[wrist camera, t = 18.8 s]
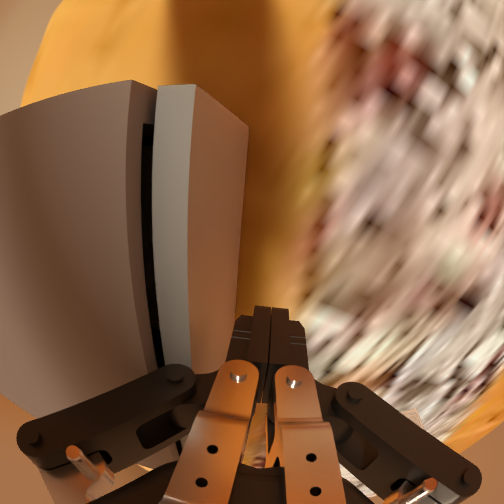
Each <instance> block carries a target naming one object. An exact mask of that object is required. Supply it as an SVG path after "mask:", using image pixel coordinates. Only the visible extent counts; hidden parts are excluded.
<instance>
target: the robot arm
mask: <svg viewBox="0 0 504 504" xmlns="http://www.w3.org/2000/svg"><path fill="white" fill-rule="evenodd" d="M262 392H263V396H262ZM261 397H262V403H268V406H267V414H266V419H265V427H266V464H265V468H262V469H259V468H254V467H251V466H248V465H245V464H242V461H243V456H244V452H245V447H246V443H247V439H248V434H249V430H250V425H251V421H252V417H253V415H254V413H255V408H256V403H261ZM188 434H189V435H188ZM186 435H188V438H187V440H186V443H185V445H184V448H183V450H182V453H181V455H180V458H179V460H178V461H173V462H169V463H166V464H163V465H161V466H159V467H157V468H155V469H153V470H152V471H150V472H148V473H146V474H145V475H143V476H141V477H139V478H137V479H136V480H134V481H132V482H130V483H128V484H126V485H124V486H122V487H120V488H118V489H116V490H114V491H112V492H110V493H108V494H106V495H104V496H102V494H104V493H105V492H106V491H108V490H109V489H110V488H111V487H112V486H113V484H114V481H115V476H114V473H116V472H119V471H121V470H123V469H125V468H127V467H129V466H131V465H133V464H135V463H137V462H139V461H141V460H143V459H145V458H147V457H149V456H151V455H153V454H155V453H157V452H158V451H160V450H162V449H164V448H166V447H168V446H169V445H171V444H173V443H175V442H176V441H178V440H180V439H181V438H183V437H185V436H186ZM17 444H18V446H19V448H20V450H21V451H22V452H23V453H24V454H25V455H26V456H27V457H28V458H29V459H30V460H31V461H32V462H33V463H34V464H35V465H36V466H37V467H38V469H39V471H40V473H41V476H42V478H43V480H44V482H45V484H46V487H47V489H48V491H49V493H50V495H51V497H52V499H53V500H54V503H55V504H374V503H373V502H372V501H371V500H370V499H369V498H367V497H366V496H365V495H364V494H363V493H362V492H361V491H360V490H359V489H358V488H356V487H355V486H354V485H353V484H352V483H351V482H349V481H348V480H346V479H344V478H343V477H341V472H340V467H339V463H340V464H341V465H342V466H344V467H345V468H346V469H347V470H348V471H349V472H350V473H352V474H353V475H354V476H355V477H356V478H357V479H359V480H360V481H361V482H362V483H363V484H364V485H366V486H367V487H368V488H369V489H370V490H372V491H373V492H374V493H375V494H377V495H378V496H379V497H380V498H382V499H383V500H384V502H383V504H459V503H461V502H462V501H464V500H465V499H467V498H469V497H470V496H472V495H473V494H475V493H476V492H477V491H478V489H479V488H480V485H481V482H482V475H481V472H480V470H479V468H478V467H477V466H475V465H474V464H473V463H471V462H470V461H468V460H467V459H465V458H464V457H462V456H461V455H459V454H458V453H456V452H455V451H453V450H452V449H450V448H449V447H448V446H446V445H445V444H443V443H442V442H440V441H439V440H438V439H436V438H435V437H433V436H432V435H431V434H429V433H428V432H426V431H425V430H424V429H422V428H421V427H419V426H418V425H417V424H415V423H414V422H413V421H411V420H410V419H408V418H407V417H406V416H404V415H403V414H402V413H400V412H399V411H398V410H396V409H395V408H394V407H392V406H391V405H390V404H388V403H387V402H386V401H384V400H383V399H382V398H380V397H379V396H378V395H376V394H375V393H374V392H372V391H371V390H370V389H368V388H367V387H366V386H364V385H362V384H360V383H357V382H346V383H343V384H341V385H340V386H339V387H338V388H333V387H330V386H326V385H323V384H321V383H319V382H318V381H316V380H315V379H314V377H313V375H312V374H311V372H310V371H309V367H308V357H307V347H306V338H305V329H304V327H303V326H302V325H301V323H300V322H299V321H291V320H289V310H288V309H283V308H274V307H272V310H271V307H264V306H255V307H254V314H253V316H245V315H241V316H240V317H239V318H238V319H237V320H236V321H235V324H234V328H233V332H232V337H231V340H230V344H229V348H228V353H227V357H226V361H225V363H224V364H223V365H222V366H221V367H220V369H218V370H217V371H214V372H211V373H206V374H195V373H194V372H193V370H192V369H190V368H189V367H187V366H185V365H182V364H168V365H165V366H163V367H161V368H159V369H157V370H155V371H152V372H150V373H148V374H146V375H144V376H142V377H139V378H137V379H135V380H133V381H131V382H128V383H126V384H124V385H121V386H119V387H117V388H115V389H112V390H110V391H108V392H105V393H103V394H100V395H98V396H96V397H93V398H91V399H88V400H86V401H83V402H81V403H78V404H76V405H73V406H71V407H68V408H65V409H63V410H60V411H57V412H55V413H52V414H49V415H46V416H43V417H41V418H38V419H35V420H32V421H29V422H27V423H25V424H23V425H22V426H21V427H20V428H19V430H18V433H17ZM101 496H102V497H101Z"/></svg>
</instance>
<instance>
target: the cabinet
mask: <svg viewBox="0 0 504 504" xmlns="http://www.w3.org/2000/svg"><path fill="white" fill-rule="evenodd" d="M157 92H158V90H156V89H154V88H151V87H149V86H146V85H144V84H141V83H139V82H136V81H134V80H127V81H120V82H114V83H109V84H103V85H98V86H93V87H89V88H84V89H80V90H76V91H72V92H68V93H65V94H61V95H57V96H54V97H51V98H47V99H44V100H41V101H38V102H35V103H32V104H29V105H26V106H24V107H21V108H19V109H16V110H13V111H11V112H8V113H6V114H3V115H1V116H0V393H1V394H2V395H3V396H5V397H6V398H8V399H9V400H10V401H12V402H13V403H14V404H16V405H17V406H19V407H21V408H22V409H23V410H25V411H26V412H28V413H30V414H31V415H33V416H34V417H36V418H41V417H43V416H46V415H49V414H52V413H55V412H57V411H60V410H63V409H65V408H68V407H71V406H73V405H76V404H78V403H81V402H83V401H86V400H88V399H91V398H93V397H96V396H98V395H100V394H103V393H105V392H108V391H110V390H112V389H115V388H117V387H119V386H121V385H124V384H126V383H128V382H131V381H133V380H135V379H137V378H139V377H142V376H144V375H146V374H148V373H150V372H152V371H155V370H157V369H159V368H161V367H163V366H165V360H164V354H163V347H162V340H161V332H160V329H155V328H151V326H150V319H149V311H148V303H147V294H146V285H145V274H144V262H143V248H142V228H141V149H142V145H153V142H154V126H155V113H156V102H157ZM182 450H183V448H182V444H181V440H178V441H176V442H175V443H173V444H171V445H169V446H168V447H166V448H164V449H162V450H160V451H158V452H157V453H155V454H153V455H151V456H149V457H147V458H145V459H143V460H141V461H139V462H137V463H136V464H139V465H142V466H145V467H148V468H152V469H155V468H157V467H159V466H161V465H163V464H166V463H169V462H173V461H178V460H179V458H180V455H181V453H182Z"/></svg>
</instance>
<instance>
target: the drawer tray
mask: <svg viewBox="0 0 504 504" xmlns="http://www.w3.org/2000/svg"><path fill="white" fill-rule="evenodd" d="M249 128H250V127H249V126H247V125H246V124H245V123H244V122H243V121H242V120H240V119H239V118H238V117H237V116H236V115H234V114H233V113H232V112H231V111H230V110H228V109H227V108H226V107H225V106H223V105H222V104H221V103H220V102H218V101H217V100H216V99H215V98H213V97H212V96H211V95H210V94H208V93H207V92H206V91H204V90H203V89H202V88H200V87H199V86H198V85H197V84H183V85H166V86H158V92H157V102H156V113H155V126H154V142H153V145H142V149H141V208H142V211H143V214H144V218H145V221H146V225H147V228H148V232H149V235H150V239H151V242H152V246H153V254H154V270H155V284H156V286H155V288H154V289H153V290H152V291H151V293H150V294H149V295H148V296H147V303H148V311H149V319H150V326H151V328H155V329H160V332H161V340H162V347H163V354H164V360H165V365H168V364H182V365H185V366H187V367H189V368H190V369H192V370H193V372H194V373H195V374H206V373H211V372H214V371H217V370H218V369H220V367H221V366H222V365H223V364H224V363H225V361H226V357H227V353H228V348H229V344H230V340H231V336H232V332H233V327H234V322H235V307H236V292H237V278H238V264H239V250H240V237H241V224H242V211H243V198H244V186H245V174H246V162H247V150H248V139H249ZM188 435H189V434H188ZM188 435H186V436H185V437H183V438H181V439H180V440H181V444H182V448H184V445H185V443H186V440H187V438H188Z"/></svg>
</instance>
